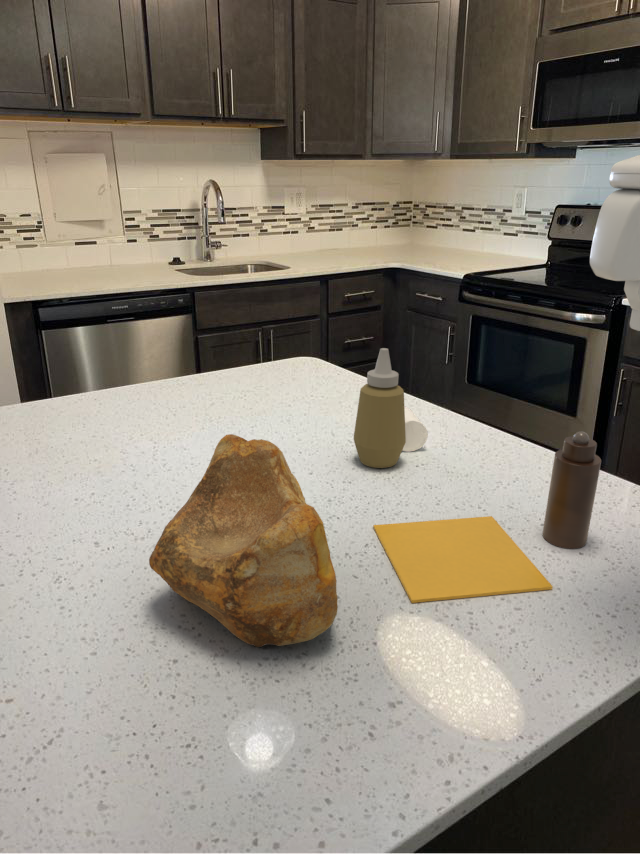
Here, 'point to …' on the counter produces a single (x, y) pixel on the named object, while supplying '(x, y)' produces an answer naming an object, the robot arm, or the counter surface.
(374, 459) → the squeeze bottle
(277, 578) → the rough brown rock
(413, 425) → the roll
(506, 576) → the yellow square plate
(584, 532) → the pepper mill
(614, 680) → the counter surface
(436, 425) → the counter surface
